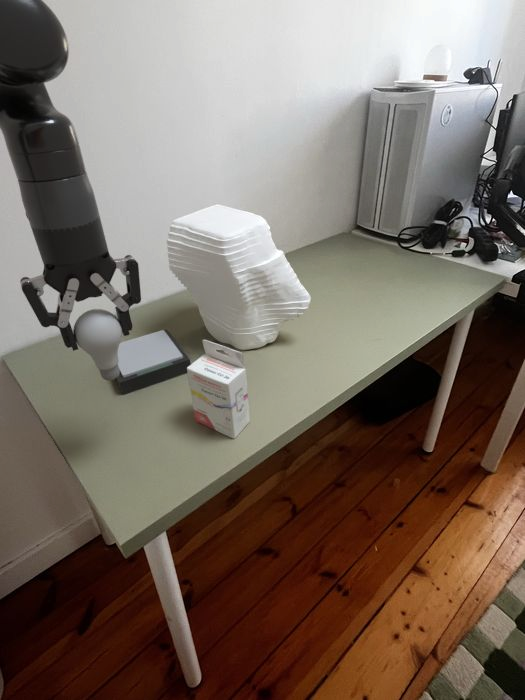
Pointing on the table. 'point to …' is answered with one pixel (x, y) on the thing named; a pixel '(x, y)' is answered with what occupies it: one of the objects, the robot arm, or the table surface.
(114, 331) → the lightbulb
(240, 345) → the white layered head sculpture
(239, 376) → the ink cartridge box
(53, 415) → the table surface
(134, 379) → the scale
